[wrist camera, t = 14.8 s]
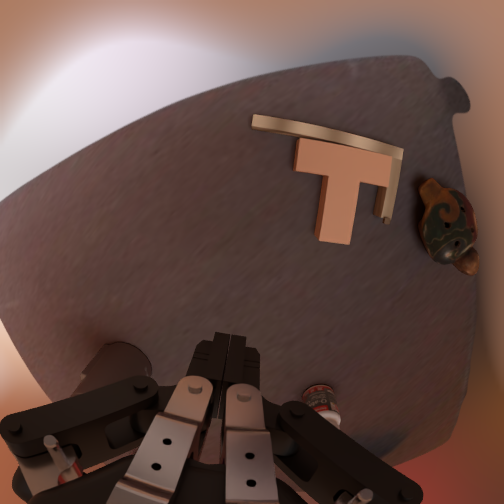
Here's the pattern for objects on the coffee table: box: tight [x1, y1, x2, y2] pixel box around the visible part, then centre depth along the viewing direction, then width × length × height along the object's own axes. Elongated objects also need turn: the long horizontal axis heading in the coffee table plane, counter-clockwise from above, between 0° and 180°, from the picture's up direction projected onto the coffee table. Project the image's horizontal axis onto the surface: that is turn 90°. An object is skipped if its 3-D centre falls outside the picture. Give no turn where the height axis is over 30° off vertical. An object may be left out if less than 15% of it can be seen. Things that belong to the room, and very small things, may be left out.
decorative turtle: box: [418, 178, 479, 276], centre depth 34 cm, size 10×15×8 cm, turn 42°
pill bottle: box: [302, 385, 341, 430], centre depth 41 cm, size 6×6×10 cm
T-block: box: [293, 138, 392, 245], centre depth 35 cm, size 12×12×4 cm
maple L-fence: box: [252, 114, 403, 224], centre depth 34 cm, size 20×10×4 cm, turn 81°
